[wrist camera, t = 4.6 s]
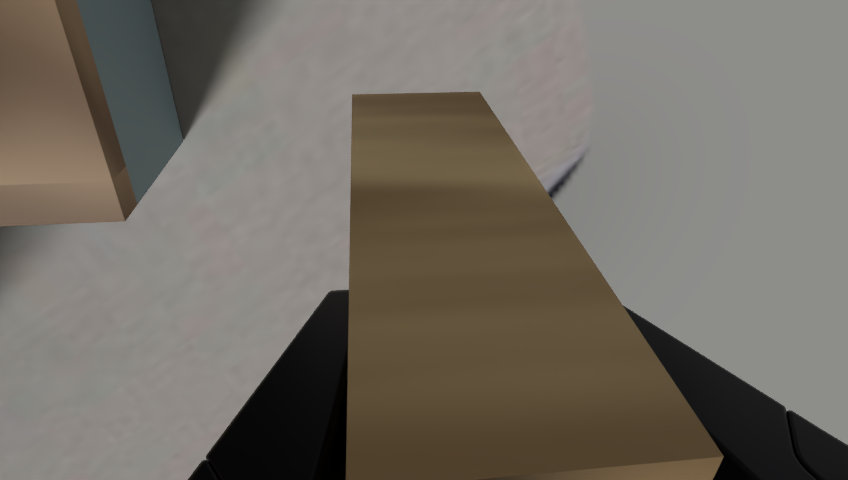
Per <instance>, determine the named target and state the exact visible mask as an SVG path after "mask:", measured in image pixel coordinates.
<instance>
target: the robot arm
mask: <svg viewBox="0 0 848 480" xmlns="http://www.w3.org/2000/svg"><path fill="white" fill-rule="evenodd" d="M623 307H624V308H625V310H626V311H627V313H628V314H629V316H630V317H631V319H632V320H633V322H634V323H635V325H636V326H637V328H638V329H639V331H640V332H641V334H642V335H643V337H644V338H645V340H646V341H647V343H648V344H649V346H650V347H651V349H652V350H653V352H654V353H655V354H656V356H657V357H658V359H659V360H660V362H661V363H662V365H663V366H664V368H665V369H666V371H667V372H668V374H669V375H670V377H671V378H672V380H673V381H674V383H675V384H676V386H677V387H678V389H679V390H680V392H681V393H682V395H683V396H684V398H685V399H686V401H687V402H688V404H689V405H690V407H691V408H692V410H693V411H694V413H695V414H696V416H697V417H698V419H699V420H700V422H701V423H702V425H703V426H704V428H705V429H706V431H707V432H708V434H709V435H710V437H711V438H712V440H713V441H714V443H715V444H716V446H717V447H718V449H719V450H720V452H721V453H722V455H723V456H724V457H723V459H722V461H721V463H720V466H719V468H718V470H717V472H716V474H715V476H714V478H713V480H848V445H847V444H845V443H843V442H842V441H840V440H838V439H837V438H835V437H833V436H832V435H830V434H828V433H827V432H825V431H823V430H822V429H820V428H818V427H817V426H815V425H814V424H812V423H810V422H809V421H807V420H806V419H804V418H803V417H801V416H799V415H798V414H796V413H795V412H793V411H790V410H789V411H787V412H786V409H785V407H784V406H783V405H781V404H780V403H778V402H777V401H775V400H773V399H772V398H770V397H769V396H767V395H765V394H764V393H762V392H760V391H759V390H757V389H756V388H754V387H753V386H751V385H749V384H748V383H746V382H745V381H743V380H741V379H739V378H738V377H736V376H735V375H733V374H731V373H730V372H728V371H727V370H725V369H724V368H722V367H721V366H719V365H717V364H716V363H714V362H712V361H711V360H709V359H708V358H706V357H705V356H703V355H701V354H700V353H698V352H697V351H695V350H693V349H692V348H690V347H689V346H687V345H685V344H684V343H682V342H681V341H679V340H677V339H676V338H674V337H673V336H671V335H669V334H668V333H666V332H665V331H663V330H661V329H660V328H658V327H657V326H655V325H653V324H652V323H650V322H649V321H647V320H645V319H644V318H642V317H640V316H639V315H637V314H636V313H634V312H633V311H631V310H629V309H628V308H626V307H625V306H623ZM348 324H349V290H336V291H330V292H329V293H328V294H327V295H326V297H325V298H324V299H323V301H322V302H321V303H320V305H319V306H318V307H317V309H316V310H315V311H314V313H313V314H312V315H311V317H310V318H309V319H308V321H307V322H306V323H305V325H304V326H303V327H302V329H301V330H300V331H299V333H298V334H297V335H296V337H295V338H294V339H293V341H292V342H291V343H290V345H289V346H288V347H287V349H286V350H285V351H284V353H283V354H282V355H281V357H280V358H279V359H278V361H277V362H276V363H275V365H274V366H273V367H272V369H271V370H270V371H269V373H268V374H267V375H266V377H265V378H264V379H263V381H262V382H261V383H260V385H259V386H258V387H257V389H256V390H255V391H254V393H253V394H252V395H251V397H250V398H249V399H248V401H247V402H246V403H245V405H244V406H243V407H242V409H241V410H240V411H239V413H238V414H237V415H236V417H235V418H234V419H233V421H232V422H231V423H230V425H229V426H228V427H227V429H226V430H225V431H224V433H223V434H222V435H221V437H220V438H219V439H218V441H217V442H216V443H215V445H214V446H213V447H212V449H211V450H210V451H209V453H208V454H207V456H206V460H203V461H202V462H201V463H200V464H199V465H198V467H197V468H196V469H195V471H194V472H193V474H192V475H191V476H190V478H189V479H188V480H346V444H347V384H348Z"/></svg>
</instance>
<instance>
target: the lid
mask: <svg viewBox="0 0 848 480" xmlns="http://www.w3.org/2000/svg"><path fill="white" fill-rule="evenodd" d="M136 206H137V201H136V198H135V194H134V191H133V188H132V184H131V181H130V178H129V174H128V171H127V168H126V164H125V161H124V158H123V154H122V151H121V148H120V144H119V141H118V138H117V134H116V131H115V128H114V124H113V121H112V118H111V114H110V111H109V108H108V104H107V101H106V98H105V94H104V91H103V88H102V84H101V81H100V78H99V74H98V71H97V68H96V64H95V61H94V58H93V54H92V51H91V48H90V44H89V41H88V38H87V34H86V31H85V28H84V24H83V21H82V18H81V14H80V11H79V8H78V4H77V1H76V0H0V226H22V225H46V224H70V223H95V222H119V221H126V219H127V218H128V217H129V215H130V214H131V212H132V211H133V210H134V208H135V207H136Z"/></svg>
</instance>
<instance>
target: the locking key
mask: <svg viewBox="0 0 848 480" xmlns="http://www.w3.org/2000/svg"><path fill="white" fill-rule="evenodd" d="M723 457H724V456H723V455H722V453H721V452H720V450H719V449H718V447H717V446H716V444H715V443H714V441H713V440H712V438H711V437H710V435H709V434H708V432H707V431H706V429H705V428H704V426H703V425H702V423H701V422H700V420H699V419H698V417H697V416H696V414H695V413H694V411H693V410H692V408H691V407H690V405H689V404H688V402H687V401H686V399H685V398H684V396H683V395H682V393H681V392H680V390H679V389H678V387H677V386H676V384H675V383H674V381H673V380H672V378H671V377H670V375H669V374H668V372H667V371H666V369H665V368H664V366H663V365H662V363H661V362H660V360H659V359H658V357H657V356H656V354H655V353H654V352H653V350H652V349H651V347H650V346H649V344H648V343H647V341H646V340H645V338H644V337H643V335H642V334H641V332H640V331H639V329H638V328H637V326H636V325H635V323H634V322H633V320H632V319H631V317H630V316H629V314H628V313H627V311H626V310H625V308H624V307H623V305H622V304H621V302H620V301H619V299H618V298H617V296H616V295H615V293H614V292H613V290H612V289H611V287H610V286H609V284H608V283H607V281H606V280H605V278H604V277H603V275H602V274H601V272H600V271H599V270H598V268H597V267H596V265H595V263H594V262H593V260H592V259H591V257H590V256H589V254H588V253H587V251H586V250H585V249H584V247H583V246H582V244H581V243H580V241H579V240H578V238H577V237H576V235H575V234H574V232H573V231H572V229H571V228H570V226H569V225H568V223H567V222H566V220H565V219H564V217H563V216H562V214H561V213H560V211H559V210H558V208H557V207H556V205H555V204H554V202H553V201H552V199H551V198H550V196H549V195H548V193H547V192H546V190H545V189H544V187H543V186H542V184H541V183H540V181H539V180H538V178H537V177H536V175H535V174H534V172H533V171H532V169H531V168H530V166H529V165H528V163H527V162H526V160H525V159H524V157H523V156H522V154H521V153H520V151H519V150H518V148H517V147H516V145H515V144H514V142H513V141H512V140H511V138H510V137H509V135H508V134H507V132H506V131H505V129H504V128H503V126H502V125H501V123H500V122H499V120H498V119H497V117H496V116H495V114H494V113H493V111H492V110H491V108H490V107H489V105H488V104H487V102H486V101H485V99H484V98H483V96H482V95H481V93H480V92H450V93H404V94H357V95H352V146H351V205H350V265H349V324H348V384H347V444H346V480H713V478H714V476H715V474H716V472H717V470H718V468H719V466H720V463H721V461H722V459H723Z"/></svg>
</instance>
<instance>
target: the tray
mask: <svg viewBox="0 0 848 480" xmlns="http://www.w3.org/2000/svg"><path fill="white" fill-rule="evenodd" d="M76 1H77V4H78V8H79V11H80V14H81V18H82V21H83V24H84V28H85V31H86V34H87V38H88V41H89V44H90V48H91V51H92V54H93V58H94V61H95V64H96V68H97V71H98V74H99V78H100V81H101V84H102V88H103V91H104V94H105V98H106V101H107V104H108V108H109V111H110V114H111V118H112V121H113V124H114V128H115V131H116V134H117V138H118V141H119V144H120V148H121V151H122V154H123V158H124V161H125V164H126V168H127V171H128V174H129V178H130V181H131V184H132V188H133V191H134V194H135V198H136V201H137V204H138V203H139V201H140V200H141V199H142V197H143V196H144V194H145V193H146V192H147V190H148V189H149V188H150V186H151V185H152V183H153V182H154V181H155V179H156V178H157V177H158V175H159V174H160V172H161V171H162V170H163V168H164V167H165V166H166V164H167V163H168V161H169V160H170V159H171V157H172V156H173V155H174V153H175V152H176V150H177V149H178V148H179V146H180V145H181V144H182V142H183V137H182V133H181V129H180V124H179V120H178V116H177V112H176V107H175V103H174V99H173V94H172V90H171V86H170V81H169V77H168V73H167V69H166V64H165V60H164V56H163V51H162V47H161V43H160V39H159V34H158V30H157V26H156V21H155V17H154V13H153V8H152V4H151V0H76Z"/></svg>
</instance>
